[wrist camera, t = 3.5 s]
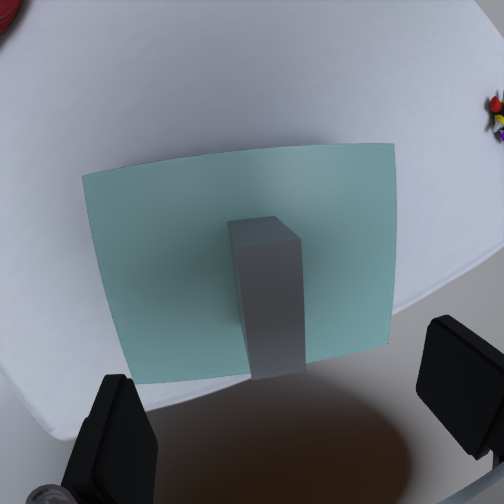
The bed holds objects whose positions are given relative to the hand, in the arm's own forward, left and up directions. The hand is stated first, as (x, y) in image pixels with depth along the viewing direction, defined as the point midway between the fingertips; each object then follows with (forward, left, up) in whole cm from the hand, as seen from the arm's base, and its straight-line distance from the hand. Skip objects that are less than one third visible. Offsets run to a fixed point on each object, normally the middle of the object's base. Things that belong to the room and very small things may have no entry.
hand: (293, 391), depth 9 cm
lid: (0, 0, -11) cm, 11 cm away
